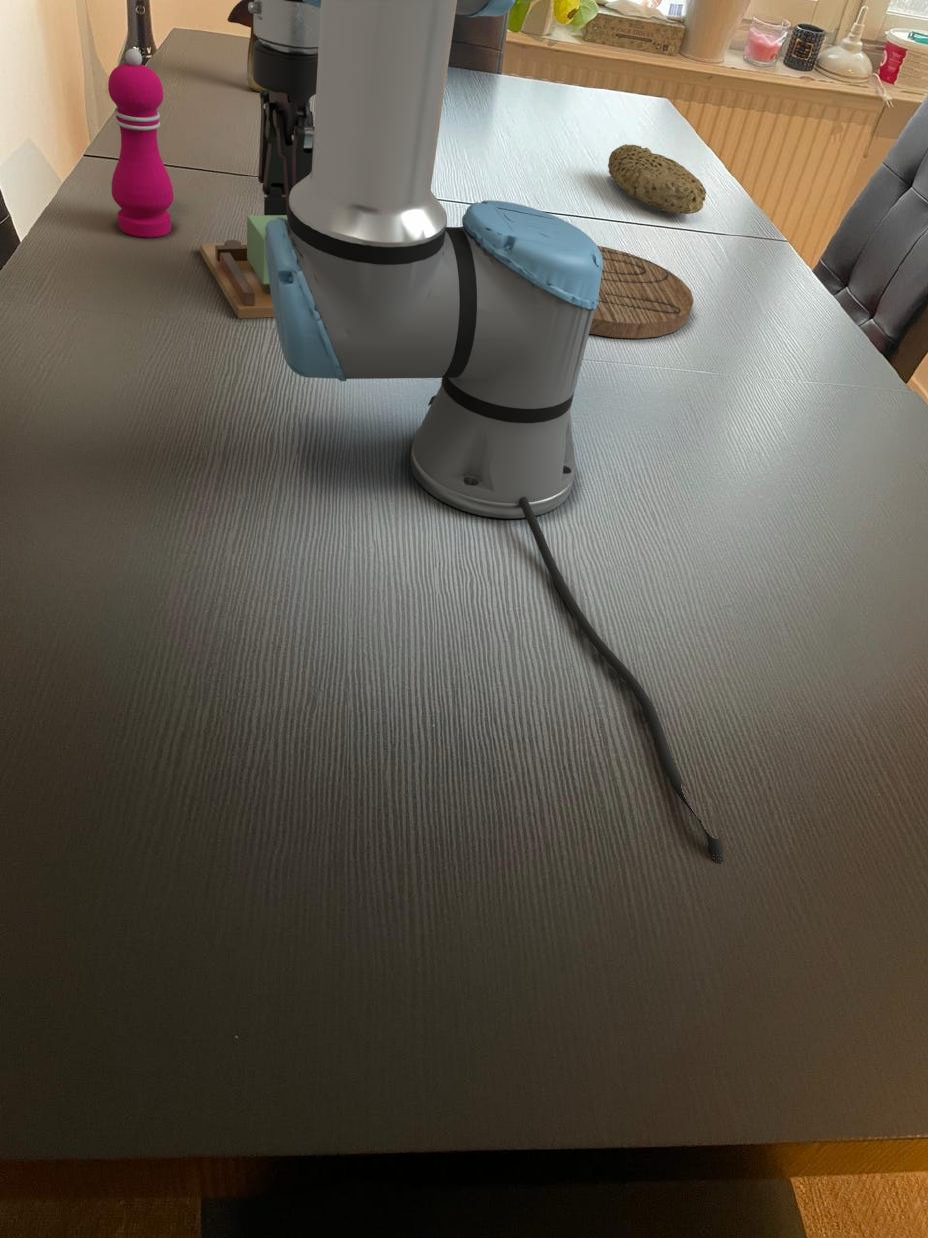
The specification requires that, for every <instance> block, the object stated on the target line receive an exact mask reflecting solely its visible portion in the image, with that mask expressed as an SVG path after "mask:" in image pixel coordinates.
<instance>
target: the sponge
mask: <svg viewBox="0 0 928 1238" xmlns="http://www.w3.org/2000/svg"><path fill="white" fill-rule="evenodd" d="M607 168H608V174H609V175H610V178H611V179H612V180H613V181H614V182H615V183H616V184H618V185H619V187H620V188H621V189H622V190H623V191H625V192H626V193H627V194H628V195H629V196H631V197H632V198H634V199H635V200H637V201H640V202H641V203H643V204H646V205H648V206H650V207H652V208H656V209H659V210H662V211H664V212H668V213H672V214H682V215H690V214H695V213H699V212H700V211H701V210H702V209H703V208H704V202H705V201H706V196H707V189H706V188H705V187H704V185H703V183H702V182H701V181H700V179H699V178H697V177H696V176H695V175H694V174H693V173H692V172H690V171H689V170H688V169H686V168H685V166H683V165H681V164H680V163H678V162H677V161H676V160H674V159H672V158H669V157H667V156H665V155H663V154H658V153H653V152H652V151H651V149H649V147H642V145H637V144H628V143H627V144H622V145H621V146H618V147H617V148H614V150H612V151H611V153H610V155H609V157H608V163H607Z"/></svg>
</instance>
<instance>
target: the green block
mask: <svg viewBox="0 0 928 1238" xmlns="http://www.w3.org/2000/svg"><path fill="white" fill-rule="evenodd" d="M278 217H281V218H284V219H287V215H264V214H263V215H246V228H247V229H246V243H247V259H248V261H249V262H250V264H251V266H252V267H253V269H254V270H255V272H256V273H257V275H258V276H259V278H260V280H261V281H262V283H263V284H270V283H269V276H268V268H267V259H266V248H265V236H266V230H265V227H266V224H267V223H268V222H269V221H270V220H275V219H277V218H278Z"/></svg>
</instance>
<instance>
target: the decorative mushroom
mask: <svg viewBox="0 0 928 1238" xmlns="http://www.w3.org/2000/svg"><path fill="white" fill-rule="evenodd" d="M249 2H254V0H240V1H239V2H238V3H237V4H235V6H234V7H233V8H232V9H231V11H230V12H229V14H228V17H227V19H226V21H227V22H228V23H231V24H239V25H241V26H243V27H247V28H250V36H249V43H248V48H247V61H246V63H247V65H246V67H247V68H246V76H247V78H246V79H247V83H248V86H249V87H250V88H251V89H252V90H253V91H255V92H260V91H261V89H264V88H262V87H260V86H259V85H257V84H256V83H255V81H254V79H253V44H254V43H255V41H256V40H258V39H259V38H258V37H257V36H256V35H255V34H254V14H253V13H250V12H249V10H248V4H249Z"/></svg>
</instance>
